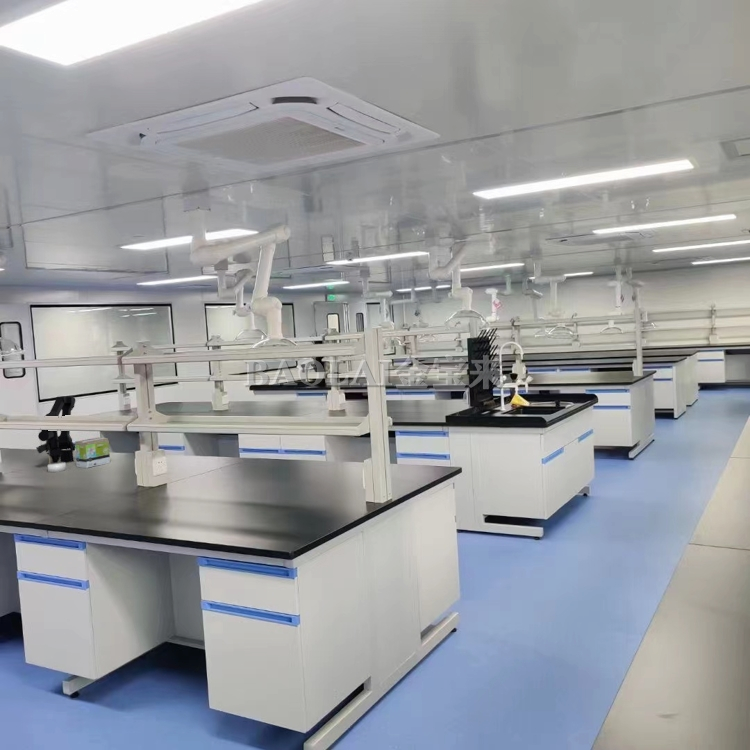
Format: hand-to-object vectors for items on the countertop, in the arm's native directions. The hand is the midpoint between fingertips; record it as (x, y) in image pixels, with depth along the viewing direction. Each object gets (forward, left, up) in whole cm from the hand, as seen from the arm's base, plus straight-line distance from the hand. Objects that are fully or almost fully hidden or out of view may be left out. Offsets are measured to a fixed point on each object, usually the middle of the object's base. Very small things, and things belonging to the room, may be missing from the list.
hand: (54, 465), depth 377 cm
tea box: (-18, +12, -1) cm, 22 cm away
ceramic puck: (+1, +12, -1) cm, 12 cm away
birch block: (0, 0, -1) cm, 1 cm away
